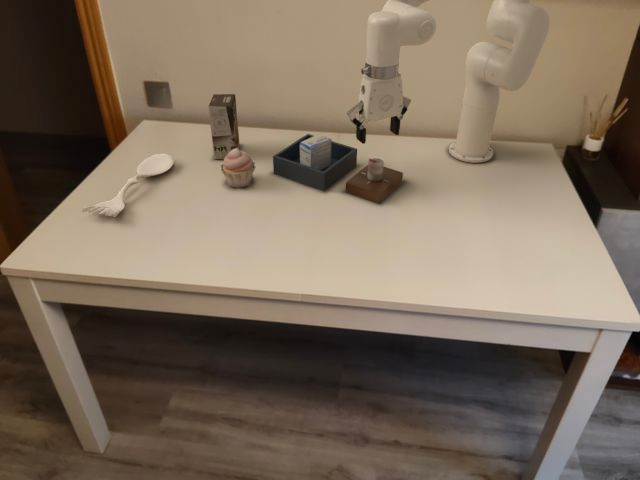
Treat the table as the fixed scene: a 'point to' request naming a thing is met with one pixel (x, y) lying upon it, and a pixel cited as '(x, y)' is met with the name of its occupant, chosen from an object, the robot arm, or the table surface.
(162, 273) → the table surface
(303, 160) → the medicine box
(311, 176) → the open box
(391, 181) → the panel
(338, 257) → the table surface
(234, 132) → the coffee box
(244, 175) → the cupcake
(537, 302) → the table surface
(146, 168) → the spoon
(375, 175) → the tap knob
